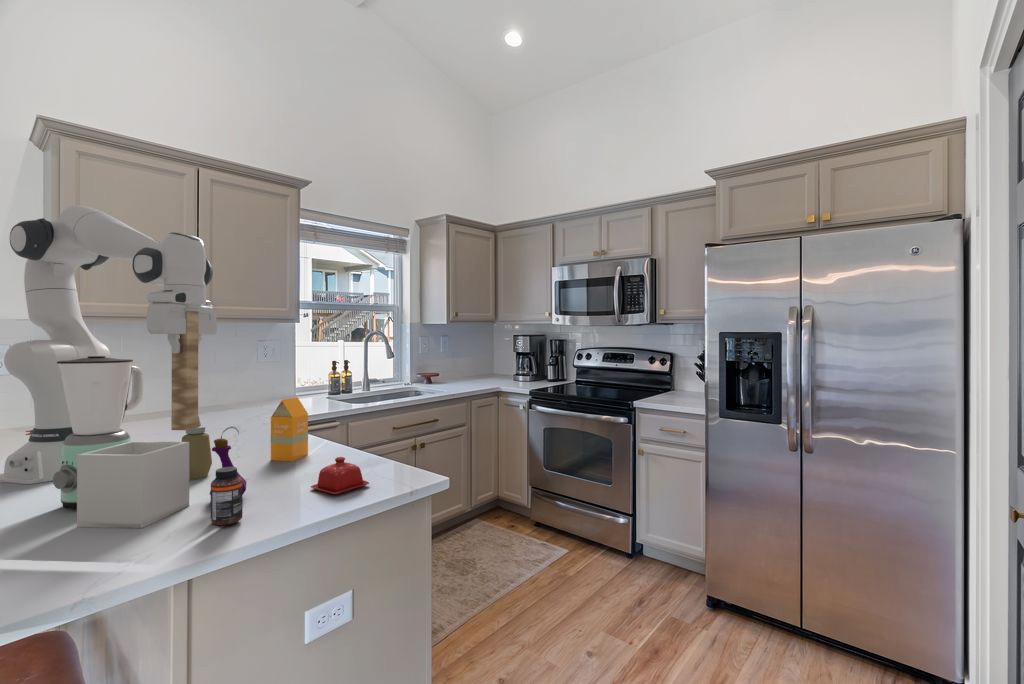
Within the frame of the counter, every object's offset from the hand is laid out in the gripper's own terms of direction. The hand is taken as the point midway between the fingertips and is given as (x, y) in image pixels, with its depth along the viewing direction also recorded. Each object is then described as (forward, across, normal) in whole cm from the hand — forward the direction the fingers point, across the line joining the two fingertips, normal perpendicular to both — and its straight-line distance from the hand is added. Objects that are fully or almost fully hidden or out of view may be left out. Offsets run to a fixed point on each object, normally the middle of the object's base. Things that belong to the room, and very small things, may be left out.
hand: (184, 352), depth 124 cm
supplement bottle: (+36, +17, +22) cm, 45 cm away
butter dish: (+36, -8, +37) cm, 52 cm away
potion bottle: (+36, +4, +14) cm, 39 cm away
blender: (+36, +6, -16) cm, 40 cm away
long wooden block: (+19, 0, 0) cm, 19 cm away
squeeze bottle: (+36, -15, -8) cm, 40 cm away
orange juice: (+36, -37, +8) cm, 52 cm away
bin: (+36, +15, 0) cm, 39 cm away
